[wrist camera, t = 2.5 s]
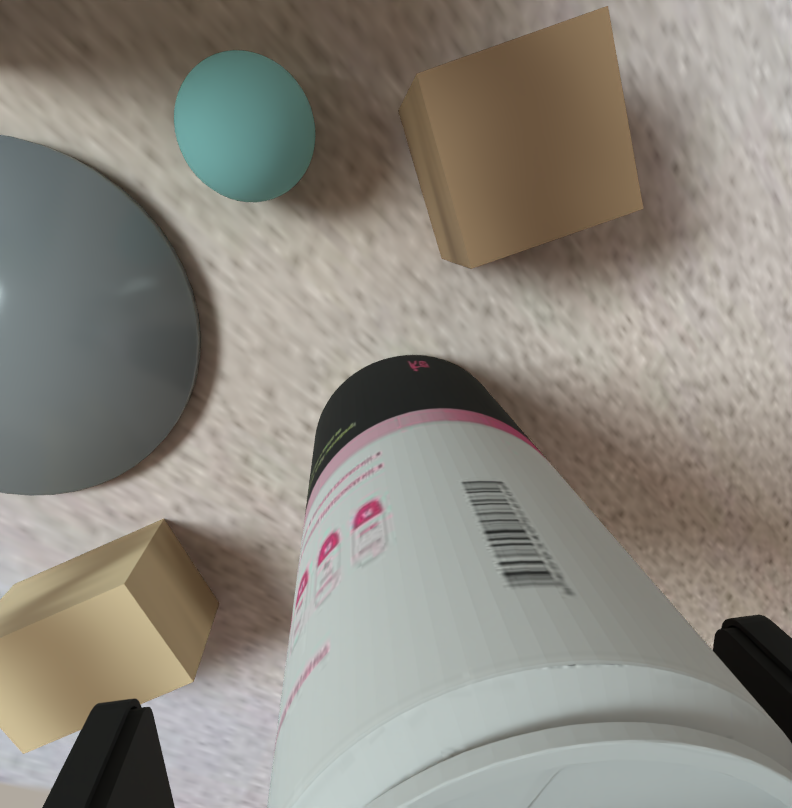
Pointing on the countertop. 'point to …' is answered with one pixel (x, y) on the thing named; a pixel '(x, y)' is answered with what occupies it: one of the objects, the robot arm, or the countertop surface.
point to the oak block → (100, 634)
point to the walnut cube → (523, 141)
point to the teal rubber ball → (244, 126)
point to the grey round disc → (85, 325)
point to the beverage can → (489, 630)
